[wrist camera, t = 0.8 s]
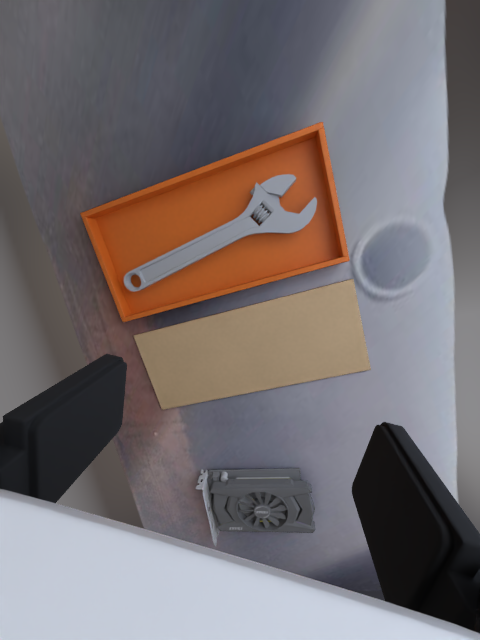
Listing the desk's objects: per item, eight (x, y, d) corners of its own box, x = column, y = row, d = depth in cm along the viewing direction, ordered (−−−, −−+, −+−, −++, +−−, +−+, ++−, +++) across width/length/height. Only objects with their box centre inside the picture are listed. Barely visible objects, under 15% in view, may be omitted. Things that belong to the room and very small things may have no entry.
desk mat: (134, 335, 38) (133, 335, 37) (352, 278, 32) (353, 279, 32) (162, 408, 40) (162, 409, 40) (370, 368, 34) (370, 369, 34)
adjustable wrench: (135, 293, 36) (128, 295, 34) (115, 247, 35) (106, 247, 33) (318, 223, 31) (320, 221, 29) (301, 166, 29) (303, 160, 28)
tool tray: (91, 215, 34) (79, 213, 32) (319, 130, 29) (322, 121, 27) (130, 318, 37) (122, 322, 35) (345, 260, 31) (349, 260, 29)
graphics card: (208, 549, 41) (194, 489, 38) (213, 525, 45) (200, 468, 42) (319, 553, 39) (313, 488, 36) (315, 527, 42) (309, 465, 39)
